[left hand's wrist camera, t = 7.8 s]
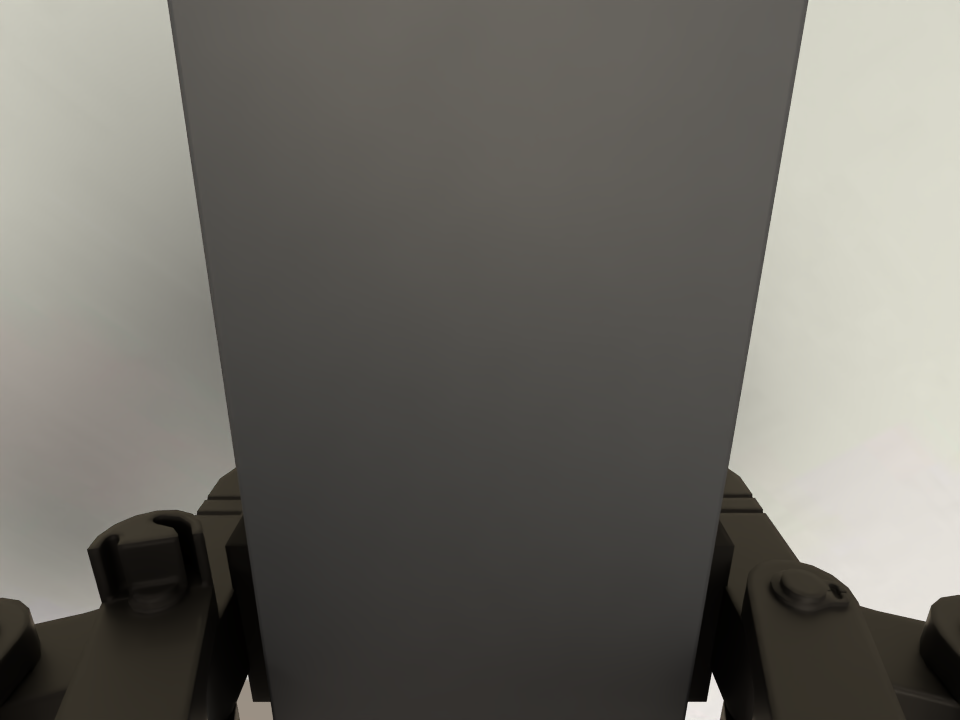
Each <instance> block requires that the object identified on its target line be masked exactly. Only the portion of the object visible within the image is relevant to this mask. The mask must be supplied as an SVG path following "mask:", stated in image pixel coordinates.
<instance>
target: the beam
mask: <svg viewBox="0 0 960 720" xmlns="http://www.w3.org/2000/svg"><path fill="white" fill-rule="evenodd" d="M167 1H168V8H169V14H170V21H171V28H172V35H173V42H174V48H175V55H176V62H177V69H178V76H179V82H180V89H181V96H182V103H183V110H184V116H185V123H186V130H187V137H188V143H189V150H190V157H191V164H192V171H193V177H194V184H195V191H196V198H197V205H198V211H199V218H200V225H201V232H202V239H203V245H204V252H205V259H206V266H207V273H208V279H209V286H210V293H211V300H212V307H213V313H214V320H215V327H216V334H217V340H218V347H219V354H220V361H221V368H222V374H223V381H224V388H225V395H226V402H227V408H228V415H229V422H230V429H231V436H232V442H233V449H234V456H235V463H236V470H237V476H238V483H239V490H240V497H241V504H242V510H243V517H244V524H245V531H246V538H247V544H248V551H249V558H250V565H251V571H252V578H253V585H254V592H255V599H256V605H257V612H258V619H259V626H260V633H261V639H262V646H263V653H264V660H265V667H266V673H267V680H268V687H269V694H270V701H271V707H272V714H273V720H685V715H686V710H687V704H688V698H689V692H690V686H691V681H692V675H693V669H694V663H695V657H696V651H697V646H698V640H699V634H700V628H701V622H702V616H703V611H704V605H705V599H706V593H707V587H708V582H709V576H710V570H711V564H712V558H713V552H714V547H715V541H716V535H717V529H718V523H719V518H720V512H721V506H722V500H723V494H724V488H725V483H726V477H727V471H728V465H729V459H730V453H731V448H732V442H733V436H734V430H735V424H736V419H737V413H738V407H739V401H740V395H741V389H742V384H743V378H744V372H745V366H746V360H747V355H748V349H749V343H750V337H751V331H752V325H753V320H754V314H755V308H756V302H757V296H758V291H759V285H760V279H761V273H762V267H763V261H764V256H765V250H766V244H767V238H768V232H769V226H770V221H771V215H772V209H773V203H774V197H775V192H776V186H777V180H778V174H779V168H780V162H781V157H782V151H783V145H784V139H785V133H786V128H787V122H788V116H789V110H790V104H791V98H792V93H793V87H794V81H795V75H796V69H797V63H798V58H799V52H800V46H801V40H802V34H803V29H804V23H805V17H806V11H807V5H808V0H167Z"/></svg>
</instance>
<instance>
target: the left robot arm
mask: <svg viewBox="0 0 960 720" xmlns="http://www.w3.org/2000/svg"><path fill="white" fill-rule="evenodd" d="M87 551H88V555H89V558H90V562H91V566H92V569H93V573H94V576H95V580H96V583H97V587H98V591H99V594H100V598H101V601H102V604H101V606H100V609H97V610H94V611H90V612H87V613H83V614H79V615H74V616H70V617H65V618H61V619H56V620H52V621H47V622H43V623H38V624H34V622H33V619H32V616H31V613H30V610H29V608H28V607H27V606H26V605H24V604H23V603H22V602H21V601H19V600H13V599H7V598H0V720H240V719H239V712H238V707H237V699H238V697H239V695H240V692H241V690H242V687H243V685H244V682H245V680H246V678H247V675H248V677H249V682H250V688H251V693H252V699H253V702H271V701H270V694H269V687H268V680H267V673H266V667H265V660H264V653H263V646H262V639H261V633H260V626H259V619H258V612H257V605H256V599H255V592H254V585H253V578H252V571H251V565H250V558H249V551H248V544H247V538H246V531H245V524H244V517H243V510H242V504H241V497H240V490H239V483H238V476H237V470H236V468H235V469H233V470H232V471H230V472H229V473H228V474H226V475H225V476H223V477H222V478H220V480H219V481H218V483H217V484H216V485H215V487H214V488H213V490H212V491H211V493H210V494H209V495H208V500H205V501H204V503H203V504H202V505H201V507H200V508H199V510H198V511H197V515H193V514H191V513H187V512H183V511H179V510H162V511H153V512H149V513H145V514H140V515H136V516H134V517H131V518H129V519H127V520H124V521H122V522H120V523H117V524H115V525H113V526H112V527H110V528H109V529H108V530H106V531H105V532H103V533H102V534H100V535H99V536H98V537H97V538H96V539H95V540H94V542H93V543H92V544H91V545H90V547H89V548H88V549H87ZM712 673H713V675H714V678H715V680H716V683H717V685H718V688H719V690H720V692H721V695H722V697H723V700H724V702H723V707H722V712H721V718H720V720H960V595H955V596H948V597H942V598H940V599H939V600H938V601H936V602H935V603H934V604H933V605H931V608H930V611H929V614H928V617H927V620H926V622H925V621H920V620H916V619H911V618H907V617H902V616H898V615H893V614H889V613H884V612H880V611H876V610H872V609H869V608H865V607H862V606H860V605H859V603H858V601H857V600H856V598H855V597H854V595H853V594H852V592H851V591H850V589H849V588H848V587H847V586H845V585H844V584H843V583H842V582H840V581H839V580H838V579H837V578H835V577H834V576H833V575H831V574H829V573H827V572H825V571H823V570H821V569H819V568H817V567H815V566H812V565H809V564H805V563H801V562H799V560H798V559H797V557H796V556H795V554H794V553H793V552H792V550H791V549H790V547H789V546H788V544H787V543H786V542H785V540H784V539H783V537H782V536H781V534H780V533H779V532H778V530H777V529H776V527H775V526H774V525H773V523H772V522H771V520H770V519H769V517H768V516H767V515H766V513H763V509H762V507H761V506H760V505H759V503H758V502H757V500H756V499H755V498H753V497H752V493H751V492H750V490H749V489H748V488H747V486H746V485H745V483H744V482H743V480H742V479H741V478H740V476H738V475H737V474H735V473H734V472H732V471H731V470H730V469H728V471H727V477H726V483H725V488H724V494H723V500H722V506H721V512H720V518H719V523H718V529H717V535H716V541H715V547H714V552H713V558H712V564H711V570H710V576H709V582H708V587H707V593H706V599H705V605H704V611H703V616H702V622H701V628H700V634H699V640H698V646H697V651H696V657H695V663H694V669H693V675H692V681H691V686H690V692H689V698H688V702H707V696H708V691H709V685H710V680H711V674H712Z"/></svg>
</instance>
